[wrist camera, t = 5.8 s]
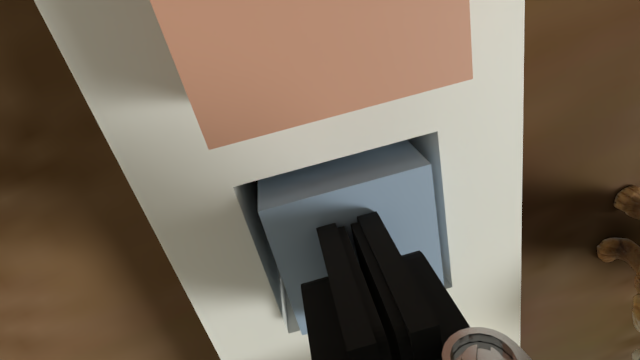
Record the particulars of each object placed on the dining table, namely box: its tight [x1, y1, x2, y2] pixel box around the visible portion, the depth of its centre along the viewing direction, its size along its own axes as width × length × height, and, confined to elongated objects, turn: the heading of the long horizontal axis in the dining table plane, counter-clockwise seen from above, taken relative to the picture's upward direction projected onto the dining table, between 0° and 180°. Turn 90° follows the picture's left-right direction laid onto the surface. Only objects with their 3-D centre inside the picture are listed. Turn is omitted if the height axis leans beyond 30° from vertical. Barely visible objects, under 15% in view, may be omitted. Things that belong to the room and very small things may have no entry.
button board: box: [34, 0, 525, 360], centre depth 13 cm, size 22×10×4 cm, turn 13°
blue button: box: [258, 140, 444, 335], centre depth 12 cm, size 4×4×4 cm
